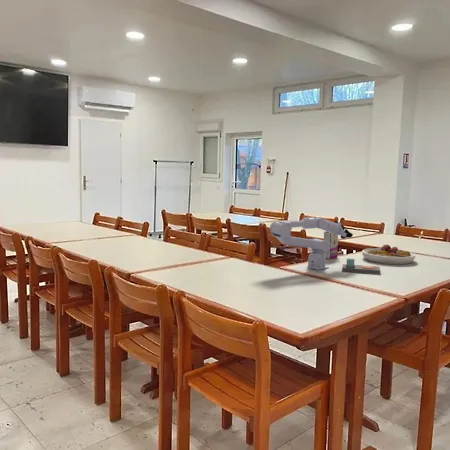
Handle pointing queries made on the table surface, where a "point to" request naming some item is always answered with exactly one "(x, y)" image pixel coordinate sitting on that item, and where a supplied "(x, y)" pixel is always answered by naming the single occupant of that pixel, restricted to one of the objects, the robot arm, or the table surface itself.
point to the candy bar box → (331, 244)
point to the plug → (350, 262)
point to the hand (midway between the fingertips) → (347, 232)
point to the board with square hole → (360, 269)
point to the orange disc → (367, 267)
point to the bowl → (388, 255)
